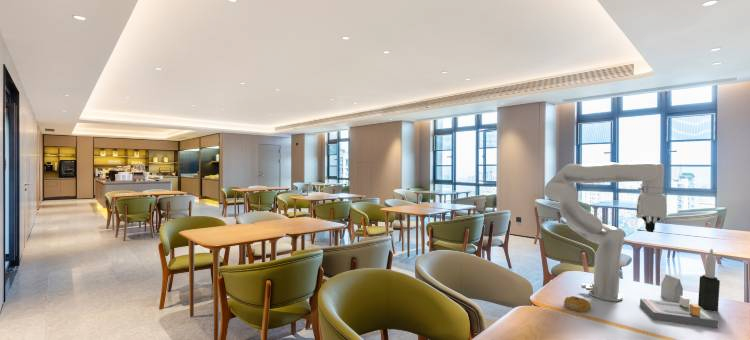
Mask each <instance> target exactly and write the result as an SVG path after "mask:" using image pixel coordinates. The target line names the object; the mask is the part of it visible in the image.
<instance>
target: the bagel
mask: <svg viewBox="0 0 750 340" xmlns="http://www.w3.org/2000/svg"><path fill="white" fill-rule="evenodd" d="M563 305H564V308H566V309H568V310H570V311H574V312H576V313H582V314H583V313H588V312H590V311H591V309H592V304H591V302H590V301H589V300H588V299H585V298H582V297H578V296H575V295H574V296H573V295H571V296H567V297H565V299H564V301H563Z"/></svg>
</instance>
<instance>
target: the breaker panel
mask: <svg viewBox="0 0 750 340" xmlns="http://www.w3.org/2000/svg"><path fill="white" fill-rule="evenodd" d="M639 306H640V307H641V309H642V310H643V311H644V312H645V313H647V315H648V316H649V317H650V318H651V319H652V321H658V322H666V323H672V324H673V323H674V324H681V325H689V326H695V327H696V326H697V327H703V328H710V329H717V330H718V329H719V320H718V319H717V318H715V317H714V315H711V314H710V313H709V312H708V311H706V310H704V309H702V308H701V307H700V306H699V307H700V316H696V315H693V314H691V313H690V312H689V311H690V298H689V297H687V296H685V295H682V296H680V302H673V301H665V300H664V301H663V300H657V299H656V300H655V299H648V298H647V299H646V298H639Z"/></svg>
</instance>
